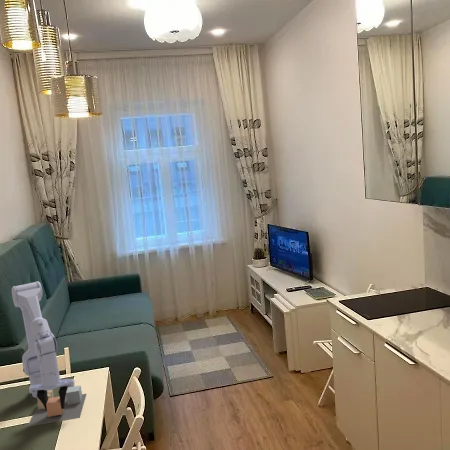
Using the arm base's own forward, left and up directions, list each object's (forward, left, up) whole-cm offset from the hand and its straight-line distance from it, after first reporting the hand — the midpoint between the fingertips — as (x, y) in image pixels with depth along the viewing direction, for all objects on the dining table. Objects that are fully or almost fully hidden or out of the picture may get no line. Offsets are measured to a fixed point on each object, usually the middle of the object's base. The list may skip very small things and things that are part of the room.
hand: (55, 408), depth 165 cm
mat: (-4, 0, -3) cm, 5 cm away
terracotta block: (0, 0, -1) cm, 1 cm away
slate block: (-8, +5, -2) cm, 10 cm away
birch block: (-8, -5, -2) cm, 10 cm away
